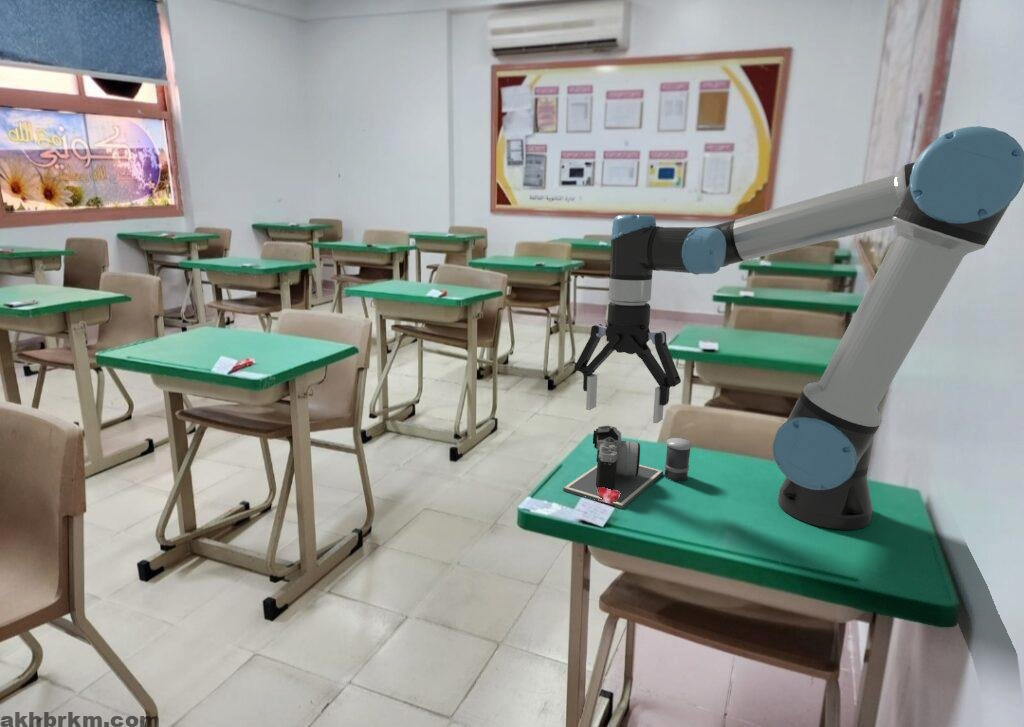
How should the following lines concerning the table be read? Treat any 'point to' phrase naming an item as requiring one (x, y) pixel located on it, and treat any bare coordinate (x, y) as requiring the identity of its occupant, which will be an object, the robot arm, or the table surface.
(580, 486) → the mat
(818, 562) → the table surface
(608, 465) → the camera
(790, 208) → the robot arm
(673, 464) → the lens
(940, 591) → the table surface
